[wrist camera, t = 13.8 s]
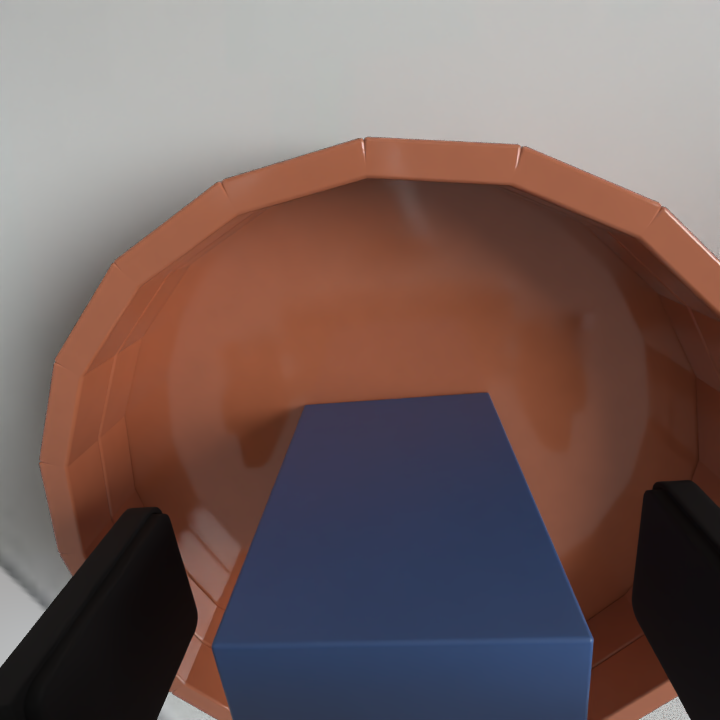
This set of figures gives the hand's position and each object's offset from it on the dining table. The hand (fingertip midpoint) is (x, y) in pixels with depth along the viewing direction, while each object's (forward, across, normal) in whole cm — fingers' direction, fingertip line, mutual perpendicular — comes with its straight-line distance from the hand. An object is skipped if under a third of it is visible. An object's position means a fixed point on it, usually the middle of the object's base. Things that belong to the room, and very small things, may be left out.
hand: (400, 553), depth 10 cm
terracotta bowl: (+3, 0, 0) cm, 3 cm away
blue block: (+3, 0, 0) cm, 3 cm away
